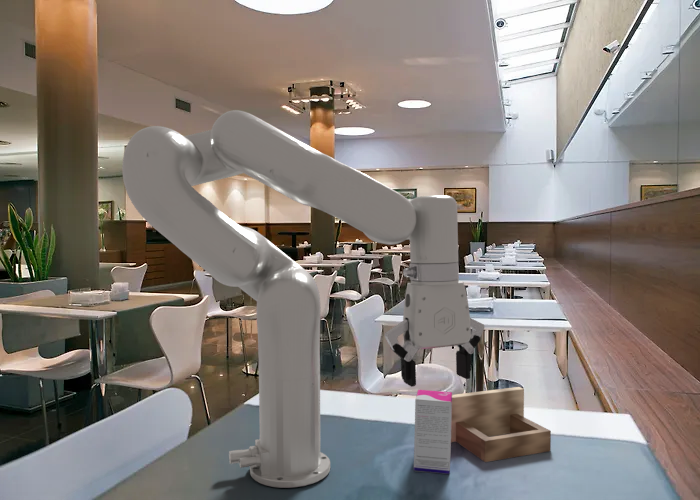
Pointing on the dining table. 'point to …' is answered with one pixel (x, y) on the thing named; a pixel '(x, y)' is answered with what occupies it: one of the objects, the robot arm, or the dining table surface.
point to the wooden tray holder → (496, 425)
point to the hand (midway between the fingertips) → (436, 380)
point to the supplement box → (432, 431)
